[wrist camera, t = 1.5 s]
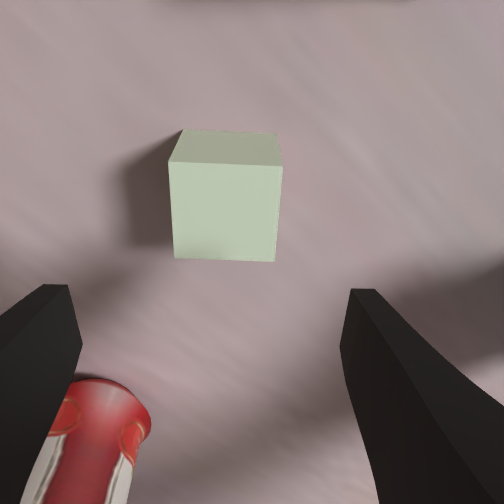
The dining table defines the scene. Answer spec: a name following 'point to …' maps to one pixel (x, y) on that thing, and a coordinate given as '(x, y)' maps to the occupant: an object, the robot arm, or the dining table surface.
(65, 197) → the dining table surface
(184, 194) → the sage block
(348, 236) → the dining table surface
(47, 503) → the liquor
